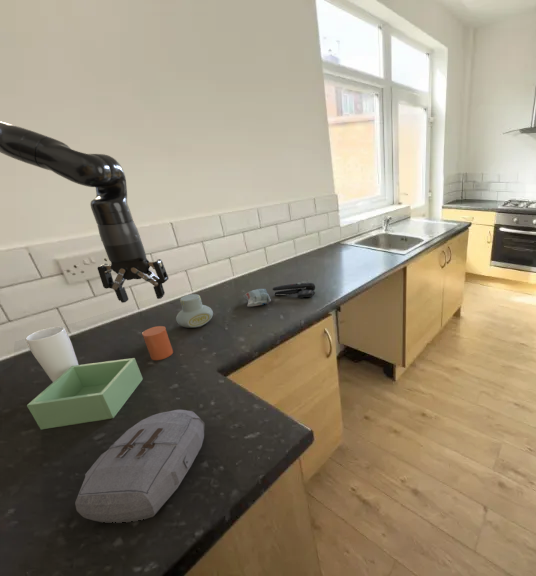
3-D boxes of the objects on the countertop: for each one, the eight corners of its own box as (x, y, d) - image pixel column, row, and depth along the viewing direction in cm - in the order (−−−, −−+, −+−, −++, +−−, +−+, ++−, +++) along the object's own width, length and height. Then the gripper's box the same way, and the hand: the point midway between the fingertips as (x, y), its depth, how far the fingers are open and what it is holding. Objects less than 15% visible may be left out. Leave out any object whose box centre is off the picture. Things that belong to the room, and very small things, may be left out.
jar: (147, 361, 89) (138, 337, 86) (156, 350, 94) (147, 327, 91) (168, 358, 90) (160, 334, 87) (176, 348, 95) (168, 324, 92)
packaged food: (248, 311, 117) (246, 299, 115) (244, 300, 126) (241, 288, 125) (272, 306, 121) (270, 294, 119) (266, 295, 130) (264, 284, 128)
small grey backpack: (168, 525, 49) (223, 424, 67) (151, 488, 46) (214, 393, 64) (67, 531, 48) (150, 428, 67) (43, 494, 45) (137, 396, 64)
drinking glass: (92, 380, 82) (69, 330, 76) (58, 396, 77) (30, 343, 71) (82, 372, 85) (58, 323, 79) (48, 387, 80) (20, 336, 74)
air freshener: (209, 314, 115) (202, 289, 112) (218, 321, 110) (211, 295, 106) (175, 325, 108) (167, 299, 104) (183, 334, 103) (175, 306, 99)
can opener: (318, 292, 132) (317, 279, 130) (313, 299, 125) (311, 286, 123) (277, 291, 134) (275, 279, 131) (270, 298, 127) (268, 285, 125)
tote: (40, 429, 67) (26, 405, 65) (82, 387, 79) (71, 365, 77) (113, 418, 70) (102, 394, 67) (143, 379, 82) (134, 357, 79)
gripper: (160, 235, 84) (177, 291, 90) (98, 239, 81) (120, 297, 87) (146, 241, 77) (166, 302, 83) (79, 246, 74) (104, 308, 81)
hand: (143, 299), depth 85 cm, fingers open, 8 cm apart
